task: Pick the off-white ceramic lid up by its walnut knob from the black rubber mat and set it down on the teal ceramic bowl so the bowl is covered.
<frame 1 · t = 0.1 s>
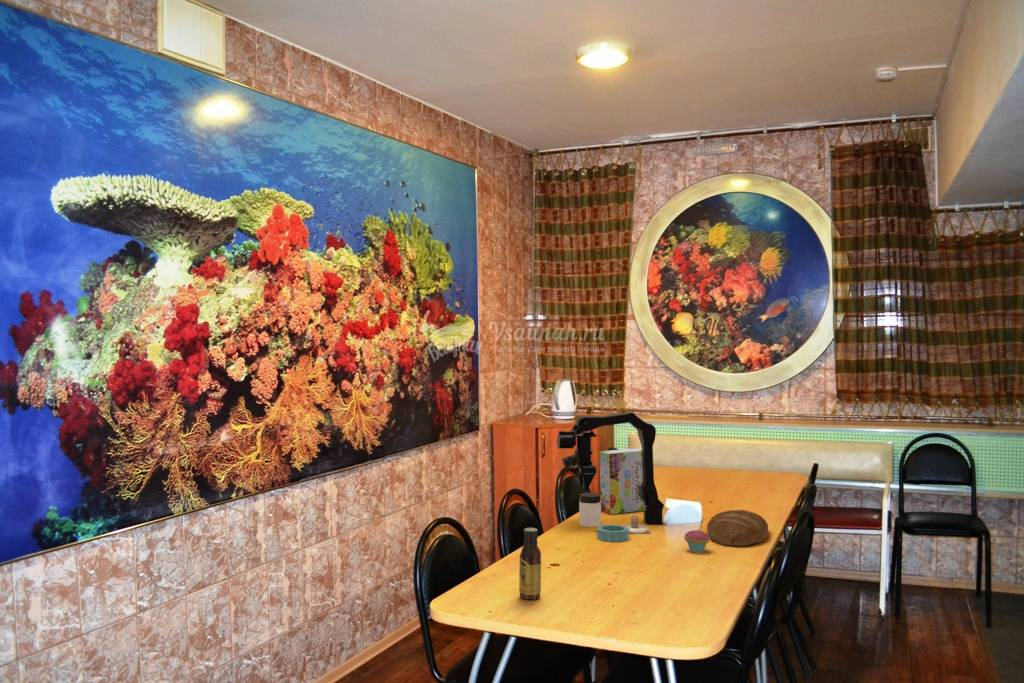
hand: (583, 488, 332), 15 cm above the table, tool pointing down, fingers open, 9 cm apart
lid: (634, 530, 323), resting on mat
cupcake: (696, 551, 296), on the table
bowl: (612, 539, 312), on the table
mat: (634, 531, 323), on the table
sauce bottle: (530, 598, 245), on the table
snack box: (626, 511, 359), on the table
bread: (737, 536, 319), on the table
jar: (589, 525, 333), on the table
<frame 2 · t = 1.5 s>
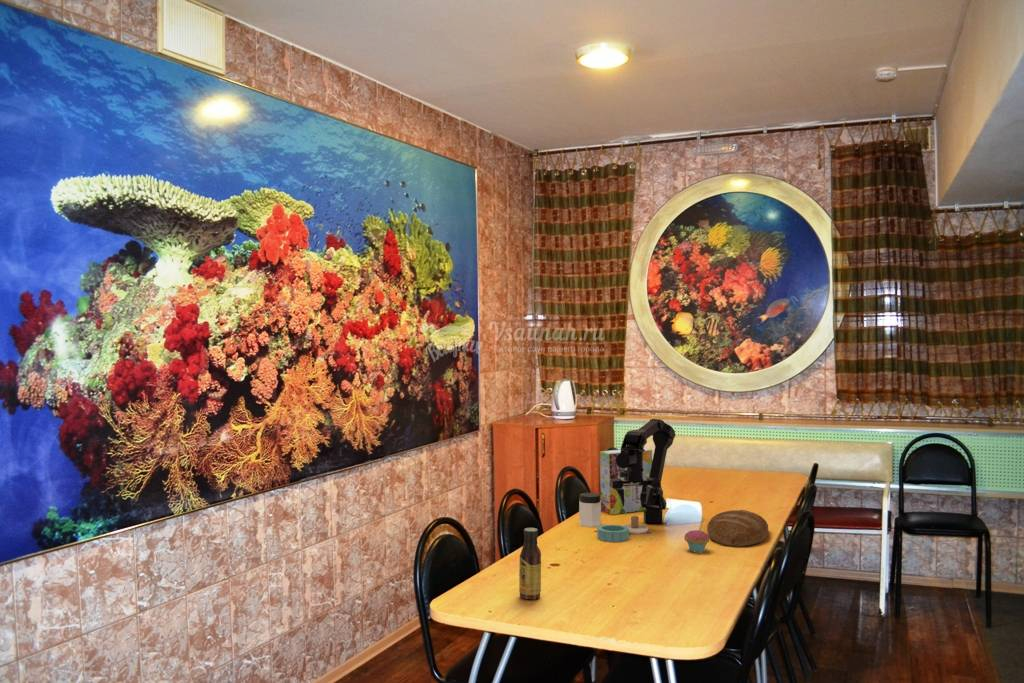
hand: (635, 505, 323), 10 cm above the table, tool pointing down, fingers open, 9 cm apart
nothing on the table moved.
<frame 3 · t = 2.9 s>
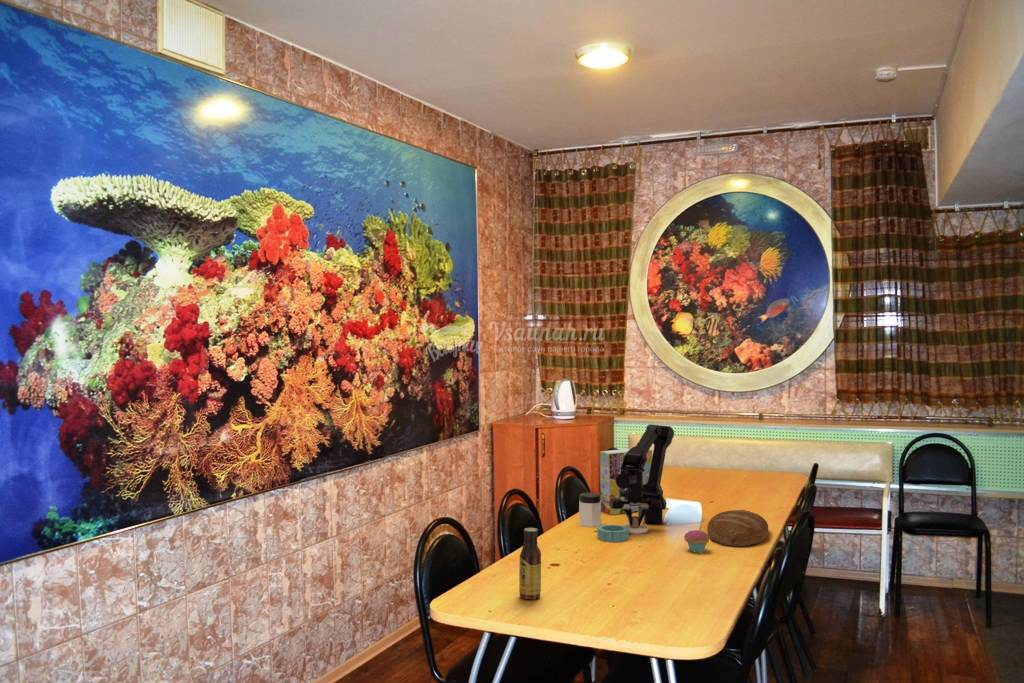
hand: (634, 525, 323), 2 cm above the table, tool pointing down, fingers closed on lid, 3 cm apart
lid: (634, 530, 323), resting on mat, touching gripper
everything else where it was.
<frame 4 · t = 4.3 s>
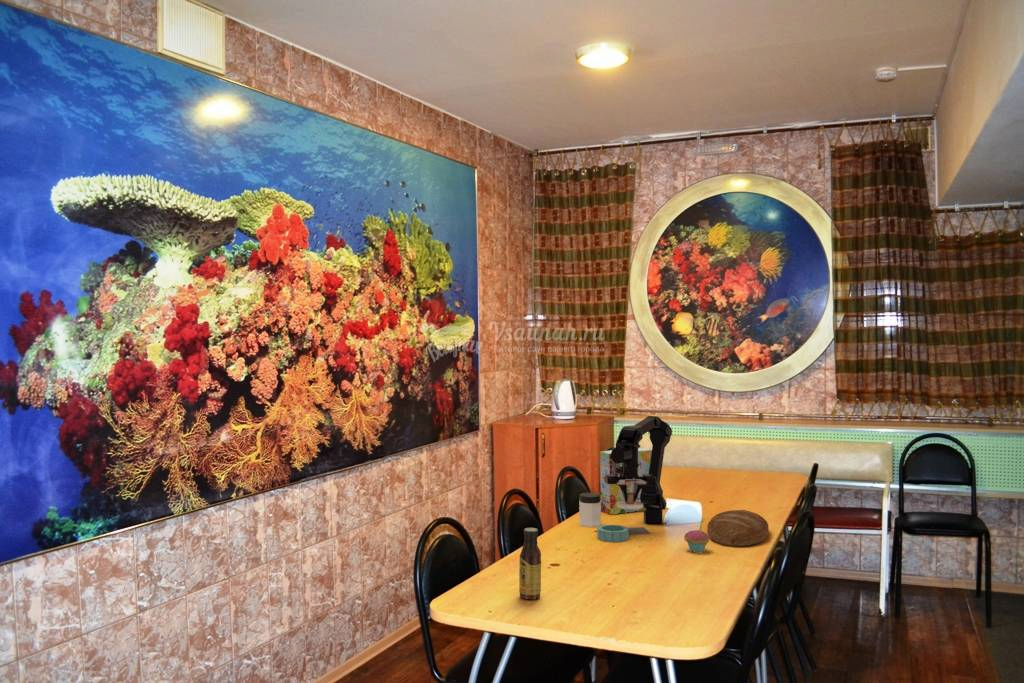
hand: (629, 502, 320), 12 cm above the table, tool pointing down, fingers closed on lid, 3 cm apart
lid: (629, 506, 320), point 10 cm above the table, touching gripper
everything else where it was.
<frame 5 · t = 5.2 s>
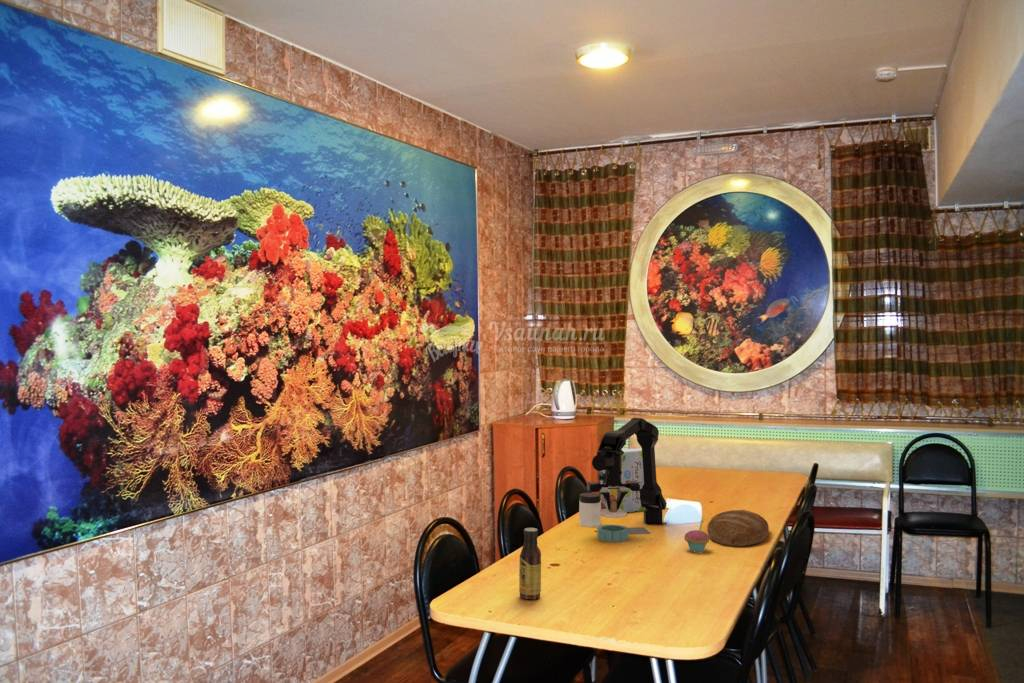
hand: (613, 509, 312), 11 cm above the table, tool pointing down, fingers closed on lid, 3 cm apart
lid: (613, 514, 312), point 9 cm above the table, touching gripper
everything else where it was.
when the fingers open (7 cm above the table, at t = 5.9 s): lid drops 2 cm, resting on bowl.
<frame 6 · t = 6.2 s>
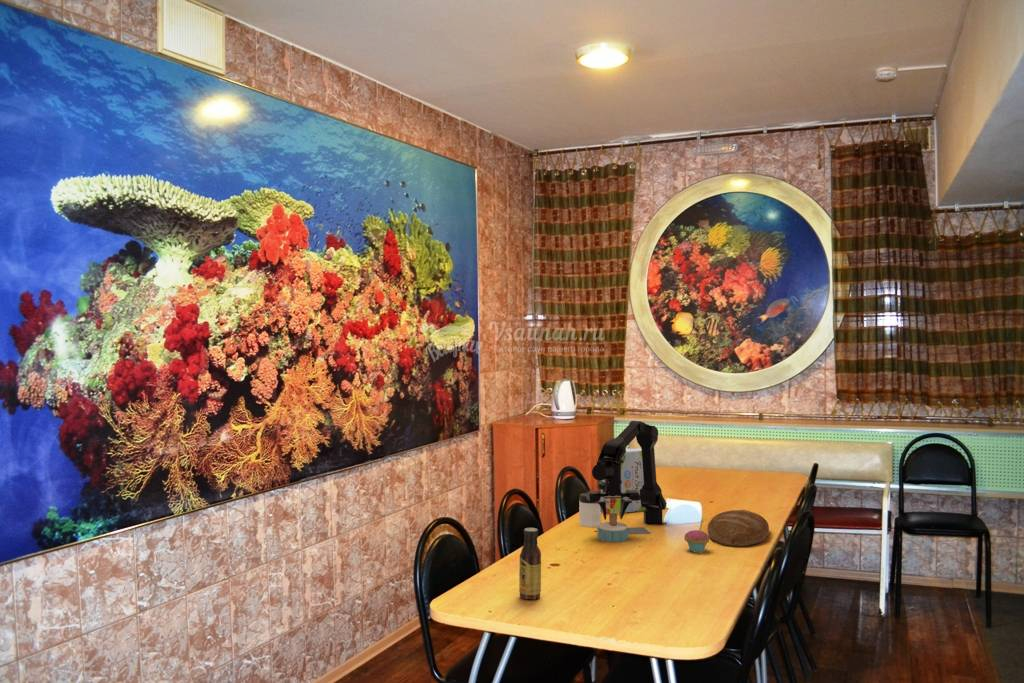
hand: (613, 519, 312), 7 cm above the table, tool pointing down, fingers open, 6 cm apart
lid: (613, 528, 312), point 4 cm above the table, touching bowl
everything else where it was.
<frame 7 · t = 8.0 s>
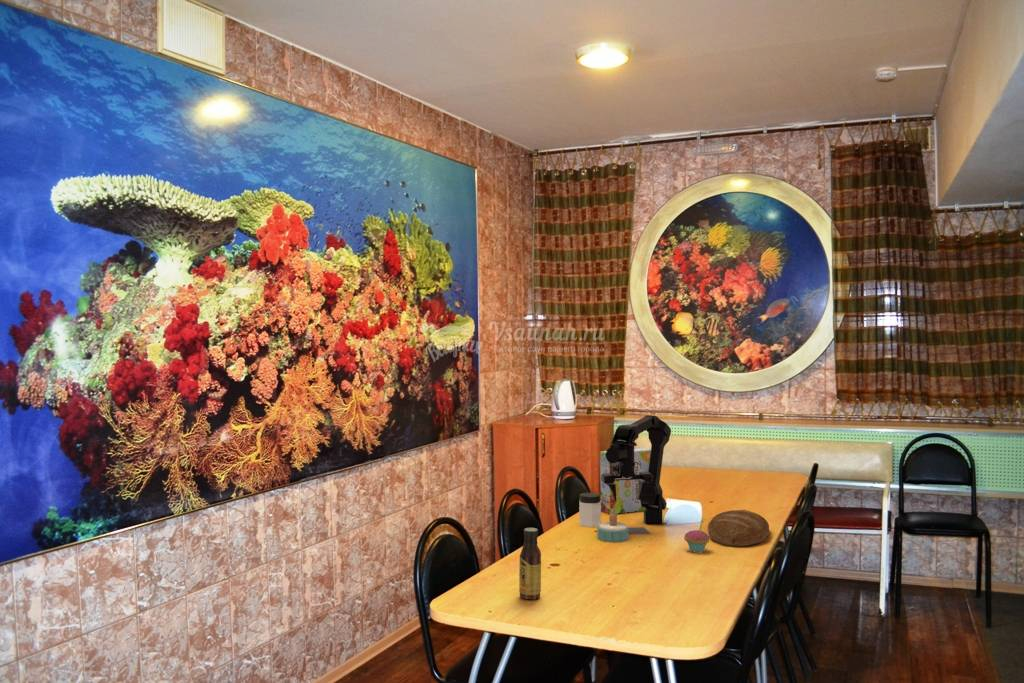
hand: (627, 500, 321), 12 cm above the table, tool pointing down, fingers open, 9 cm apart
nothing on the table moved.
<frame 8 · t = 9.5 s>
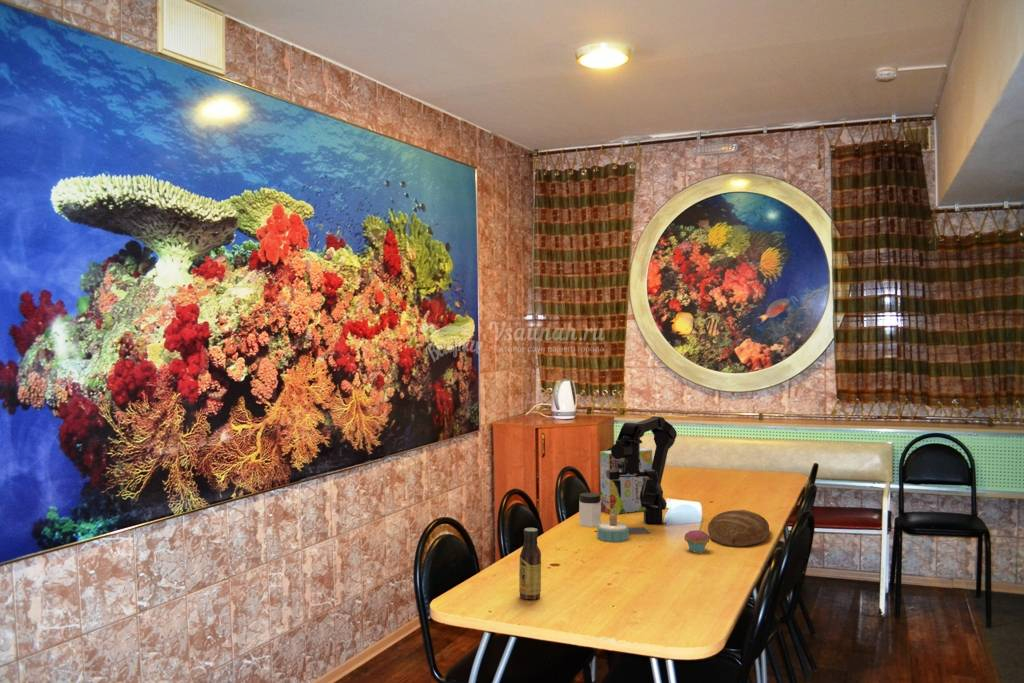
hand: (631, 497, 324), 13 cm above the table, tool pointing down, fingers open, 9 cm apart
nothing on the table moved.
at the end: lid 0.0 cm off-centre on the bowl, point 4.0 cm above the bowl's base; lid tilted 0°; the gripper is holding nothing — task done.
